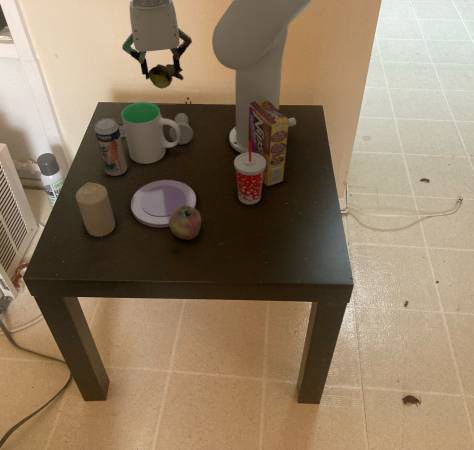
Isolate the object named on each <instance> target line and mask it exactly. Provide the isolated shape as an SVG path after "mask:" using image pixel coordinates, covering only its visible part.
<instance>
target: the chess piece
mask: <svg viewBox="0 0 474 450" xmlns="http://www.w3.org/2000/svg"><path fill="white" fill-rule="evenodd" d="M173 121H174V122H176V124H177V125H178V126H179V129H180V134H181V135H180V140H179V142H178V144H177V145H180V146H181V145H186V144H189V143H190V142H191V141H192V139H193V136H194V131H193V128H192V127H191V125H189V118H188V115H187V114H186V113H182V112H180V113H177V114H176V115H175V117H174V120H173ZM168 134H169V138H170V139H171V141H172V142H175V141H176V140H177V133H176V131H175V129H174V128H173V127H172V126H170V129H169V132H168Z"/></svg>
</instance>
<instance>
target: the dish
mask: <svg viewBox="0 0 474 450" xmlns="http://www.w3.org/2000/svg"><path fill="white" fill-rule="evenodd" d="M181 206H190V207H192V208H194V209H196V208H197V196H196V193H195V191H194V190H193V188H191V187H190V185H188V184H186V183H184V182H181V181H177V180H174V179H160V180H155V181H151V182H149V183H147V184H144V185H143V186H141V187H140V188H139V189H137V191H135V193H134V194H133V196H132V197H131V200H130V209H131V213H132V215H133V217H134V218H135V220H137V222H139V223H141V224H142V225H144V226H147V227H151V228H159V229H160V228H162V229H163V228H164V229H165V228H170V227H169V219H170V216H171V215H172V214H173V213H174V212H175V211H176V210H178V209H179V208H180V207H181Z"/></svg>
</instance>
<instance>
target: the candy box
mask: <svg viewBox="0 0 474 450" xmlns="http://www.w3.org/2000/svg"><path fill="white" fill-rule="evenodd" d="M289 119H290V118H288V117H287V116H286V115H285V114H284V113H282V112H281V111H280V109H279V110H278V109H277V108H276V107H275V106H274V105H273V104H272V103H270V102H269V101H268V100H267V99H261V100H257V101H255V102H252V103H249V135H248V152H249V140H252V148H251V152H253V153H258V154H260V155H262V156H263V157H264V158H265V160H266V167H265V169H264V174H263V184H264V185H265V186H266V187H270V186H273V185H276V184H279V183H281V182H283V181H284V175H285V174H284V173H285V163H286V153H287V144H288V135H289V134H288V133H289V128H288V124H289Z"/></svg>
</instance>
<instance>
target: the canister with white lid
mask: <svg viewBox="0 0 474 450" xmlns="http://www.w3.org/2000/svg"><path fill="white" fill-rule="evenodd" d="M119 126H120V125H119V123H117V121H115V119H114V118H111V117H103V118H101V119H98V120H97V121H96V122H95V126H94V132H95V136H96V140H97V144H98V147H99V152H100V155H101V159H102V163H103V167H104V171H105V173H106V174H107V175H109V176H120V175H123V174H124V173H126V171H127V170H128V164H127V158H126V154H125V150H124V145H123V139H122V137H121V135H120V130H119Z"/></svg>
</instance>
